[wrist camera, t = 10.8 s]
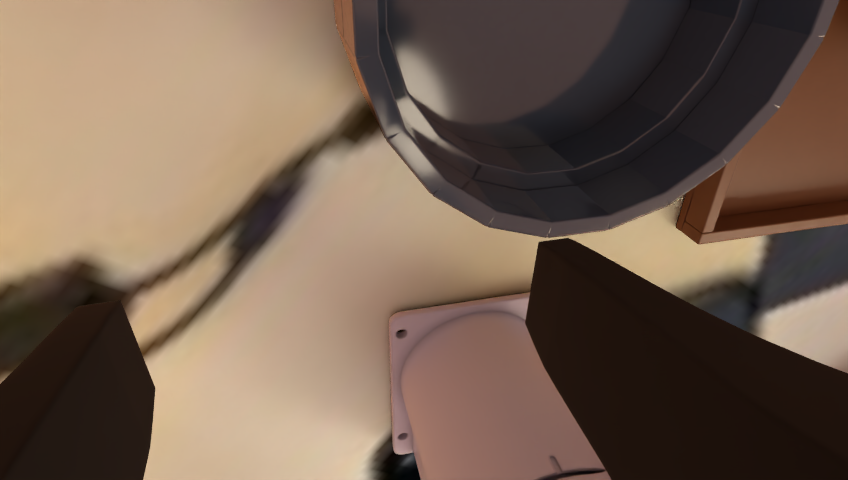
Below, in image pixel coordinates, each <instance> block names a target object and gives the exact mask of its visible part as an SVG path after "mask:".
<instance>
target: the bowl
mask: <svg viewBox="0 0 848 480" xmlns="http://www.w3.org/2000/svg"><path fill="white" fill-rule="evenodd" d="M839 1H840V0H334V10H335V23H336V25H337V30H338V33H339V35H340V38H341V40H342V43H343V46H344V48H345V51H346V54H347V56H348V59H349V61H350V64H351V67H352V69H353V72H354V74H355V77H356V80H357V82H358V85H359V87H360V90H361V92H362V94H363V96H364V98H365V100H366V102H367V104H368V106H369V108H370V110H371V112H372V114H373V116H374V118H375V120H376V122H377V124H378V126H379V127H380V129H381V131H382V133H383V135H384V137H385V139H386V141H387V142H388V143H389V144H390V146H391V147H392V148H393V149H394V150H395V152H396V153H397V154H398V155H399V156H400V158H401V159H402V160H403V161H404V162H405V164H406V165H407V166H408V167H409V169H410V170H411V171H412V172H413V173H414V175H415V176H416V177H417V178H418V179H419V181H420V182H421V183H422V184H423V185H424V187H425V188H426V189H427V190H428V191H429V193H431V194H432V195H433V196H434V197H436V198H438V199H439V200H441V201H443V202H445V203H446V204H448V205H450V206H452V207H453V208H455V209H457V210H459V211H460V212H462V213H464V214H465V215H467V216H469V217H471V218H472V219H474V220H476V221H478V222H479V223H481V224H483V225H485V226H488V227H490V228H496V229H501V230H507V231H512V232H518V233H523V234H529V235H534V236H540V237H545V238H546V237H549V238H550V237H558V236H566V235H574V234H582V233H590V232H598V231H605V230H608V229H612V228H615V227H617V226H620V225H622V224H625V223H627V222H629V221H632V220H634V219H637V218H639V217H642V216H644V215H647V214H649V213H651V212H654V211H656V210H659V209H661V208H664V207H666V206H668V204H672V203H673V202H674V201H676V200H677V199H679V198H680V197H681V196H683V195H684V194H686V193H687V192H689V191H690V190H691V189H693V188H694V187H696V186H697V185H699V184H700V183H701V182H703V181H704V180H706V179H707V178H708V177H710V176H711V175H713V174H714V173H716V172H717V171H718V170H720V169H721V168H723V167H724V166H725V165H726V164H728V163H729V162H730V161H731V160H732V159H733V158H734V156H735V155H736V154H737V153H738V152H739V151H740V150H741V149H742V148H743V147H744V146H745V145H746V144H747V143H748V142H749V141H750V140H751V138H752V137H753V136H754V135H755V134H756V133H757V132H758V131H759V130H760V129H761V128H762V127H763V126H764V125H765V124H766V123H767V122H768V121H769V119H770V118H771V117H772V116H773V115H774V114H775V113H776V112H777V111H778V109H779V108H780V107H781V106H782V104H783V103H784V101H785V100H786V98H787V96H788V95H789V93H790V92H791V90H792V89H793V87H794V86H795V84H796V82H797V81H798V79H799V78H800V76H801V75H802V73H803V71H804V70H805V68H806V67H807V65H808V64H809V62H810V60H811V59H812V57H813V56H814V54H815V53H816V51H817V49H818V48H819V46H820V45H821V43H822V42H823V40H824V38H823V37H825V36H826V34H827V31H828V29H829V26H830V23H831V21H832V18H833V16H834V13H835V11H836V8H837V6H838V3H839Z"/></svg>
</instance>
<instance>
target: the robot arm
mask: <svg viewBox="0 0 848 480" xmlns="http://www.w3.org/2000/svg"><path fill="white" fill-rule="evenodd" d="M399 330H404V331H403V332H400V333H397V332H398V331H399ZM389 346H390V378H391V410H392V442H393V449H394V452H395V453H396V454H407V453H412V452H414V455H415V459H416V462H417V466H418V470H419V474H420V478H421V480H848V373H845V372H842V371H840V370H837V369H834V368H832V367H829V366H827V365H824V364H821V363H819V362H816V361H814V360H811V359H809V358H807V357H804V356H802V355H799V354H797V353H795V352H792V351H790V350H788V349H785V348H783V347H780V346H778V345H776V344H773V343H771V342H769V341H766V340H764V339H762V338H759V337H757V336H755V335H753V334H751V333H748V332H746V331H744V330H742V329H740V328H738V327H736V326H734V325H732V324H730V323H728V322H726V321H724V320H722V319H719V318H717V317H715V316H713V315H711V314H709V313H707V312H705V311H703V310H701V309H699V308H697V307H695V306H694V305H692V304H690V303H688V302H686V301H684V300H682V299H680V298H678V297H676V296H675V295H673V294H671V293H669V292H667V291H665V290H663V289H662V288H660V287H658V286H656V285H654V284H652V283H651V282H649V281H647V280H645V279H643V278H642V277H640V276H638V275H636V274H635V273H633V272H631V271H629V270H627V269H626V268H624V267H622V266H620V265H618V264H617V263H615V262H613V261H611V260H610V259H608V258H606V257H604V256H602V255H600V254H599V253H597V252H595V251H593V250H591V249H589V248H588V247H586V246H584V245H582V244H580V243H578V242H576V241H573V240H571V239H569V238H565V239H557V240H550V241H543V242H539V244H538V249H537V255H536V261H535V267H534V273H533V279H532V284H531V290H530V292H528V293H521V294H514V295H508V296H501V297H494V298H488V299H481V300H474V301H468V302H461V303H454V304H448V305H441V306H434V307H428V308H421V309H414V310H408V311H401V312H397V313H395V314H393V315H392V316H391V317H390V319H389ZM154 397H155V386H154V384H153V381H152V379H151V376H150V374H149V371H148V369H147V366H146V364H145V361H144V359H143V356H142V353H141V351H140V348H139V346H138V343H137V341H136V338H135V336H134V333H133V331H132V328H131V326H130V323H129V321H128V318H127V315H126V313H125V310H124V308H123V305H122V303H121V300H119V301H112V302H105V303H98V304H91V305H83V306H78V307H76V308H75V309H74V310H73V311H72V312H71V313H70V314H69V315H68V316H67V317H66V318H65V319H64V320H63V321H62V322H61V323H60V324H59V325H58V326H57V327H56V328H55V329H54V330H53V331H52V332H51V333H50V334H49V335H48V336H47V337H46V338H45V339H44V340H43V341H42V342H41V343H40V344H39V345H38V346H37V347H36V348H35V349H34V350H33V352H32V353H31V354H30V355H29V356H28V357H27V358H26V359H25V360H24V361H23V362H22V363H21V364H20V365H19V366H18V367H17V368H16V369H15V370H14V371H13V372H12V373H11V374H10V375H9V376H8V377H7V378H6V379H5V380H4V381H3V382H2V383H1V384H0V480H143V477H144V473H145V468H146V464H147V459H148V454H149V449H150V442H151V433H152V423H153V411H154Z"/></svg>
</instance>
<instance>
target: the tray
mask: <svg viewBox="0 0 848 480" xmlns="http://www.w3.org/2000/svg"><path fill="white" fill-rule="evenodd" d="M823 38H824V40H823V42H822V43H821V45H820V46H819V48H818V49H817V51H816V53H815V54H814V56H813V57H812V59H811V60H810V62H809V64H808V65H807V67H806V68H805V70H804V71H803V73H802V75H801V76H800V78H799V79H798V81H797V82H796V84H795V86H794V87H793V89H792V90H791V92H790V93H789V95H788V96H787V98H786V100H785V101H784V103H783V104H782V106H781V107H780V108H779V109H778V111H777V112H776V113H775V114H774V115H773V116H772V117H771V118H770V119H769V121H768V122H767V123H766V124H765V125H764V126H763V127H762V128H761V129H760V130H759V131H758V132H757V133H756V134H755V135H754V136H753V137H752V138H751V140H750V141H749V142H748V143H747V144H746V145H745V146H744V147H743V148H742V149H741V150H740V151H739V152H738V153H737V154H736V155H735V156H734V158H733V159H732V160H731V161H730V162H729V163H728V164H726V165H725V166H724V167H723V168H721V169H720V170H718V171H717V172H716V173H714V174H713V175H711V176H710V177H708V178H707V179H706V180H704V181H703V182H701V183H700V184H699V185H697V186H696V187H694V188H693V189H691V190H690V191H689V192H687V193H686V196H685V199H684V202H683V206H682V209H681V212H680V215H679V219H678V222H677V225H676V228H677V229H679V230H680V231H682V232H683V233H684V234H685V235H687V236H688V237H689V238H691V239H692V240H693V241H694V242H696V243H697V244H705V243H712V242H719V241H726V240H733V239H741V238H748V237H755V236H762V235H769V234H776V233H784V232H791V231H798V230H805V229H812V228H819V227H827V226H834V225H841V224H848V0H840V1H839V3H838V6H837V8H836V11H835V13H834V16H833V18H832V21H831V23H830V26H829V29H828V31H827V34H826V36H825V37H823Z"/></svg>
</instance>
